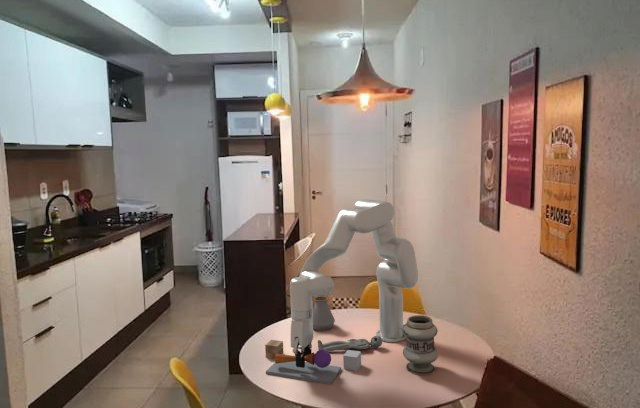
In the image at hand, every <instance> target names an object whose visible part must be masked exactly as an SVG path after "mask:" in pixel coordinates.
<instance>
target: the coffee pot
mask: <svg viewBox="0 0 640 408" xmlns="http://www.w3.org/2000/svg"><path fill="white" fill-rule="evenodd" d="M285 296H286V297H285V299H287V297H289V298H291V297H290V294H286V295H285ZM313 300H314V302H315V303H313V318H312V321H313V330H315V331H316V330H317V331H325V330H329V329H331V328H332V326H334V324H335V322H336V319H335V317H334V315H333V313H332V311H331V309H330V306H329V304H328V301H329V297H328V296H319V297H313Z"/></svg>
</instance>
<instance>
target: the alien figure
mask: <svg viewBox="0 0 640 408" xmlns="http://www.w3.org/2000/svg"><path fill="white" fill-rule="evenodd" d="M382 344H383V341H382V339H381V337H379V336H376V335H374V336H372V337H371V338H370V341H368V340H367V339H366V338H358V339H356V338H351V339H348V340H347V341H345V340H334V341H329V342H326V343H323V342H322V341H321V340H320V339H318V340H317V347H318V351H319V350H326V351H328V352H329V353H330V352H333V351H339V350H340V351H341V350H368V349H369V348H370V349H378V348H380V347H381V346H382Z"/></svg>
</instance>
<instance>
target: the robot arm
mask: <svg viewBox="0 0 640 408" xmlns="http://www.w3.org/2000/svg"><path fill="white" fill-rule="evenodd" d="M394 217H395V207H394V206H393V204H392V203H390V202H389V201H385V200H376V199H368V198H367V199H359V200H356V202H355V203H354V204H353V208H344V209H341V210H339V212H338V214H337V215H336V218H335V220H334V222H333V224H332V226H331V228H330V231H329V232H328V235H327V236H326V239H325V241H324V242H323V243H322V244H321V245H319V247H317V248H316V249H315V250H314V251H313V252H312V253H311V254H310V255H308V257H307V258H306V260H305V261H304V264H303V266H302V267H301V270H300V272H299V275H298V276H296V277H293V278H291V279H290V281H289V282H290V283H289V295H290V297H289V298H290V317H291V318H290V319H291V322H290V348H292V353H293V354H294V356H296V367H301V368H304V367H305V362H306V361H305V356H307V355H309V354H311V353H313V352H312V347H313V345H312V344H313V343H312V342H313V339H314V328H313V321H312V318H313V309H314V306H313V304H314V303H313V299H314V298H316V297H320V296H323V297H327V296H328V295H330V294H331V293H332V292H333V291H334V288H335V281H334V279H333V278H332V277H331V276H329V275H327V274H324V273H321V272H319V271H320V270H321V268H322V267H323V266H324V265H325V264H326V263H327V262H328V261H331V260H333V259H336V258H338V257H341V256H343V255H345V254H346V253H347V251H348V248H349V245H350V243H351V241H352V239H353V237H354V235H355V233H356V234H362V235H363V234H368V233H371V234H372V238H373V243H374V249H375V253H376V256H377V257H378V258H379V259H381V260H382V261H381V262H380V263H379V264H378V265H377V266H376V270H375V271H376V272H375V273H376V280H377V285H378V295H379V296H378V297H379V298H378V303H379V308H378V309H379V312H378V313H379V329H378V330H377V331H376V332H375V336H379V337H381V339H382V342H385V343H398V342H402V341H404V340H405V341H406V335H405V334H404V333H403V326H404V325H405V324H404V297H403V296H404V295H403V291H402V289H406V290H407V289H408V290H409V289H412V288H415V287H416V285H417V283H418V279H419V273H418V272H419V271H418V267H417V266H418V263H417V259H416V258H417V257H416V252H415V249H414V246H413V244H412V243H411V242H410V241H409V240H408V239H406V238H401V237H397V236H396V233H395V230H394V225H393V222H392V221H393V218H394Z"/></svg>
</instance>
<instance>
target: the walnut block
mask: <svg viewBox="0 0 640 408" xmlns="http://www.w3.org/2000/svg"><path fill="white" fill-rule="evenodd" d="M264 347H265V348H264V349H265V358H267V359H268V358H269V359H273V360H275V355H276V354H283V355H284V341H283V340H278V339H277V340H276V339H271V340H269V341H268V342H267V343H265V345H264Z"/></svg>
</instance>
